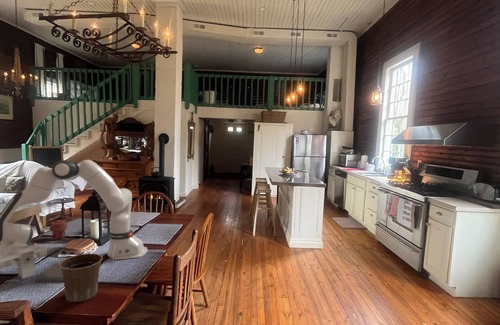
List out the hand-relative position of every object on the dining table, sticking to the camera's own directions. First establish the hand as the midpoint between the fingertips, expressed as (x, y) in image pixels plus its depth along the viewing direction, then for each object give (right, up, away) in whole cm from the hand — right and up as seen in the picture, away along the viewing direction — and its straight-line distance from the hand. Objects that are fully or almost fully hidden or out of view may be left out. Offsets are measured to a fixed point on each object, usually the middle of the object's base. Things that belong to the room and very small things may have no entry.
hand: (26, 261), depth 132 cm
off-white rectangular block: (-1, -7, +1) cm, 7 cm away
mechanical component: (-24, -5, +57) cm, 62 cm away
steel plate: (+10, -10, +9) cm, 17 cm away
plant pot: (+31, -12, -8) cm, 35 cm away
